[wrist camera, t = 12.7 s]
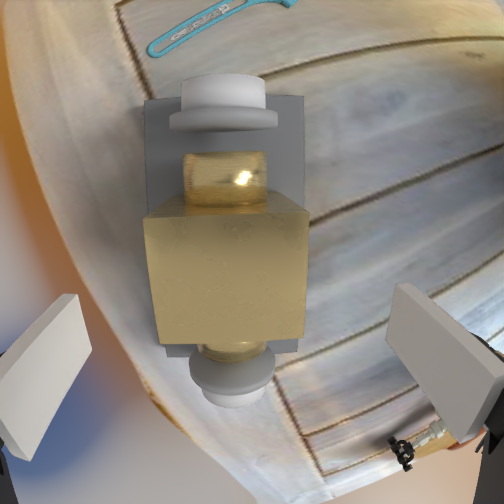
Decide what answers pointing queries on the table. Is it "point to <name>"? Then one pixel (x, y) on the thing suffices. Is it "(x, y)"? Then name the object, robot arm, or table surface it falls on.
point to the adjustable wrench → (250, 0)
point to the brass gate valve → (227, 259)
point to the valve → (417, 442)
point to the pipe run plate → (215, 140)
